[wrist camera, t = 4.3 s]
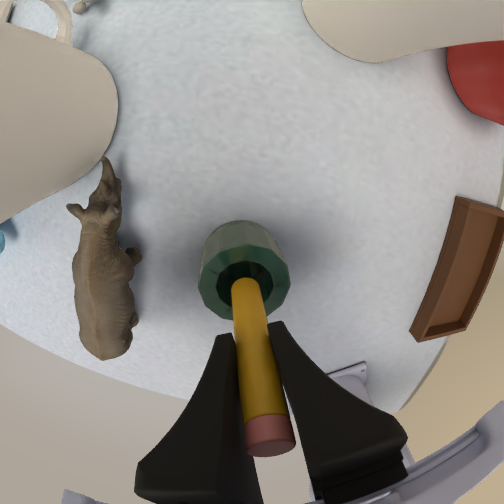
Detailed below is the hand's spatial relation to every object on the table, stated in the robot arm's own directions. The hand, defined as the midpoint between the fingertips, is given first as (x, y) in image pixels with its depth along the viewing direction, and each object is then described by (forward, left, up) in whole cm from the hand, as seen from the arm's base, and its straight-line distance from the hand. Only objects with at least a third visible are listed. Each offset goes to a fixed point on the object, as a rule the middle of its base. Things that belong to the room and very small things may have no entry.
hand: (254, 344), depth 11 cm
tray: (-8, -22, -9) cm, 25 cm away
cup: (+16, -12, -9) cm, 22 cm away
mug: (+15, +9, -9) cm, 19 cm away
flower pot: (+12, -24, -9) cm, 28 cm away
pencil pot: (0, 0, -9) cm, 9 cm away
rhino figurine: (+3, +8, -9) cm, 12 cm away
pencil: (0, 0, -4) cm, 4 cm away
